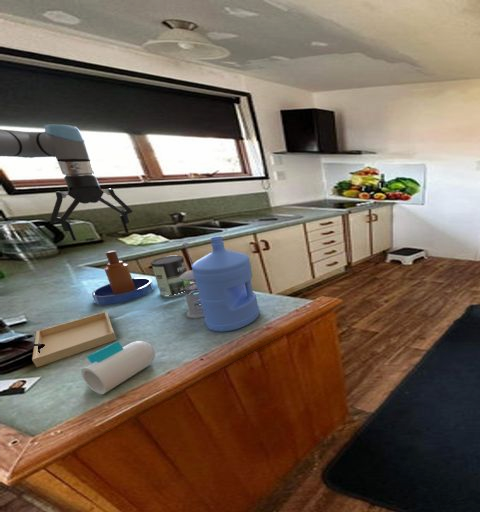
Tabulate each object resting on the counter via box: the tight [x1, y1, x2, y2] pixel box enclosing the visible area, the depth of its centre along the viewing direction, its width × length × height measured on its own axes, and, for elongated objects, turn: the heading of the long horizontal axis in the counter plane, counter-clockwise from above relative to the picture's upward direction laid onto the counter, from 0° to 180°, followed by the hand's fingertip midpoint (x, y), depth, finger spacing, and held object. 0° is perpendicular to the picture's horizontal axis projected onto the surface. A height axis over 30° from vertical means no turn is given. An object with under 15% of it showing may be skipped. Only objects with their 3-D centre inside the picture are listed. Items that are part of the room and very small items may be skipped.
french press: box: [180, 242, 205, 319], centre depth 93 cm, size 10×12×25 cm
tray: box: [31, 310, 118, 368], centre depth 81 cm, size 15×19×2 cm
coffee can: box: [150, 255, 191, 298], centre depth 108 cm, size 10×10×14 cm
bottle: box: [104, 250, 136, 295], centre depth 105 cm, size 6×6×18 cm
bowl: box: [91, 277, 155, 306], centre depth 107 cm, size 17×17×4 cm
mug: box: [80, 340, 156, 395], centre depth 66 cm, size 12×9×12 cm
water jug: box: [191, 236, 260, 332], centre depth 85 cm, size 16×16×28 cm
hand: (102, 236), depth 99 cm, fingers open, 13 cm apart
